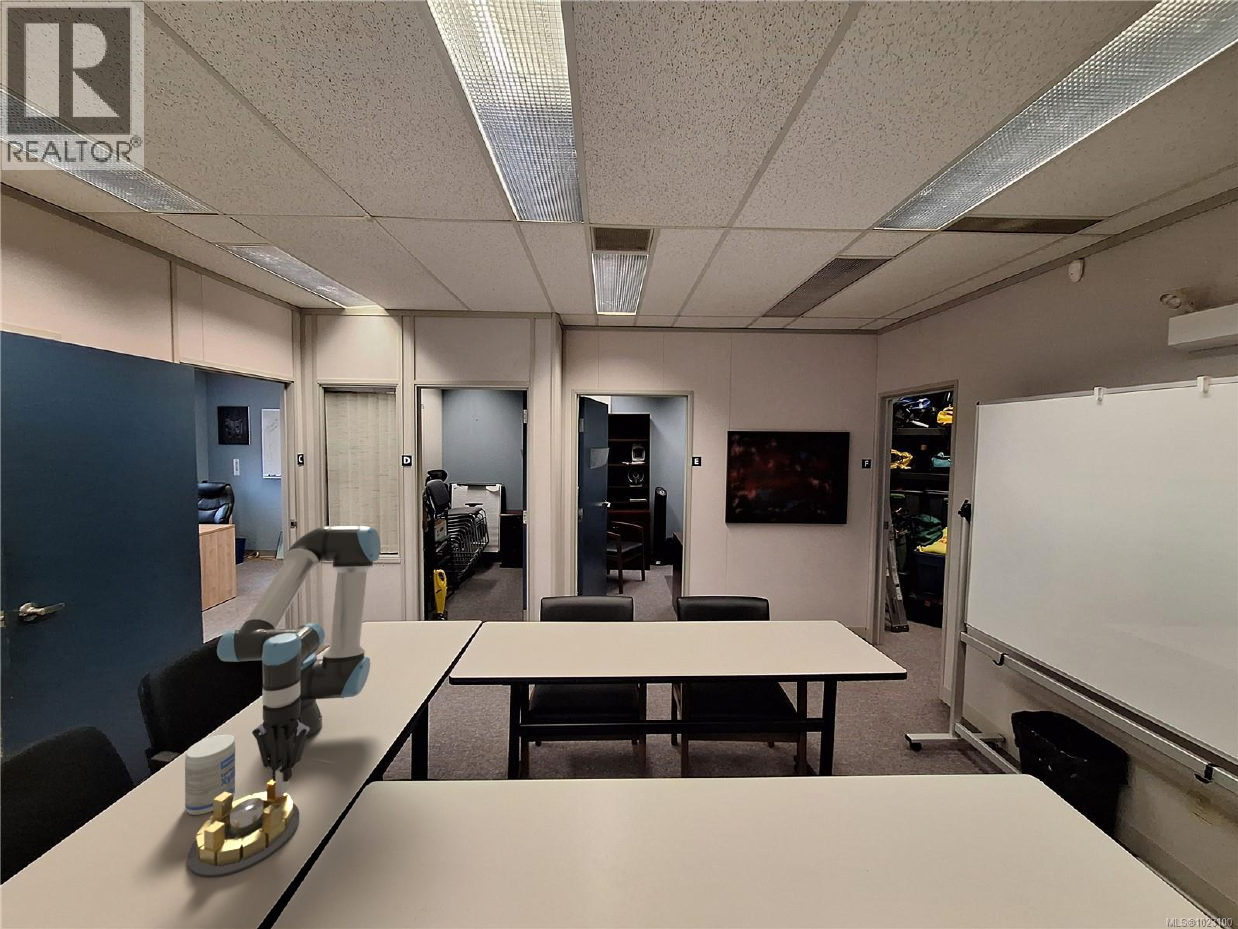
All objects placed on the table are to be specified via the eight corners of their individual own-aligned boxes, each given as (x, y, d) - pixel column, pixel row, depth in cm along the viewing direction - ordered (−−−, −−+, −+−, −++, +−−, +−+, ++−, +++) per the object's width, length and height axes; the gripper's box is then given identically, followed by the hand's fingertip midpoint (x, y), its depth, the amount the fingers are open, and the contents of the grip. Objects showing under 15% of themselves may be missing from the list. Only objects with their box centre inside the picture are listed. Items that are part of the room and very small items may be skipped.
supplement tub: (232, 807, 114) (232, 750, 114) (180, 823, 109) (180, 763, 108) (237, 782, 122) (238, 729, 122) (189, 796, 117) (190, 740, 116)
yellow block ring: (253, 797, 116) (253, 770, 116) (309, 810, 112) (309, 783, 112) (176, 855, 99) (176, 824, 99) (238, 873, 96) (239, 841, 96)
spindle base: (257, 795, 118) (258, 769, 118) (319, 814, 113) (319, 787, 113) (163, 862, 99) (163, 831, 99) (232, 889, 94) (232, 856, 93)
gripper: (318, 691, 116) (318, 781, 117) (266, 691, 115) (266, 781, 116) (298, 709, 108) (298, 805, 109) (242, 708, 108) (243, 804, 109)
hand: (282, 792), depth 113 cm, fingers closed
